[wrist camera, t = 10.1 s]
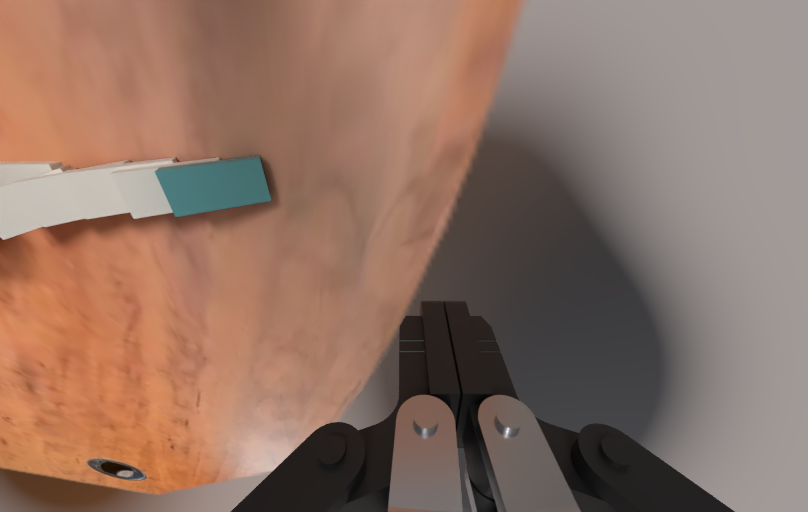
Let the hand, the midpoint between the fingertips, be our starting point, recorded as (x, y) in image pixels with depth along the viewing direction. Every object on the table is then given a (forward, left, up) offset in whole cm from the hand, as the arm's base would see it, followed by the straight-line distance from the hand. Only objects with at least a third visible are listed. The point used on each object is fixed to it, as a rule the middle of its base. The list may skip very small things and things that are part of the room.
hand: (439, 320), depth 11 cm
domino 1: (+3, -17, -28) cm, 33 cm away
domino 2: (+3, -22, -28) cm, 36 cm away
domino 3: (+3, -27, -28) cm, 39 cm away
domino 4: (+4, -33, -28) cm, 43 cm away
